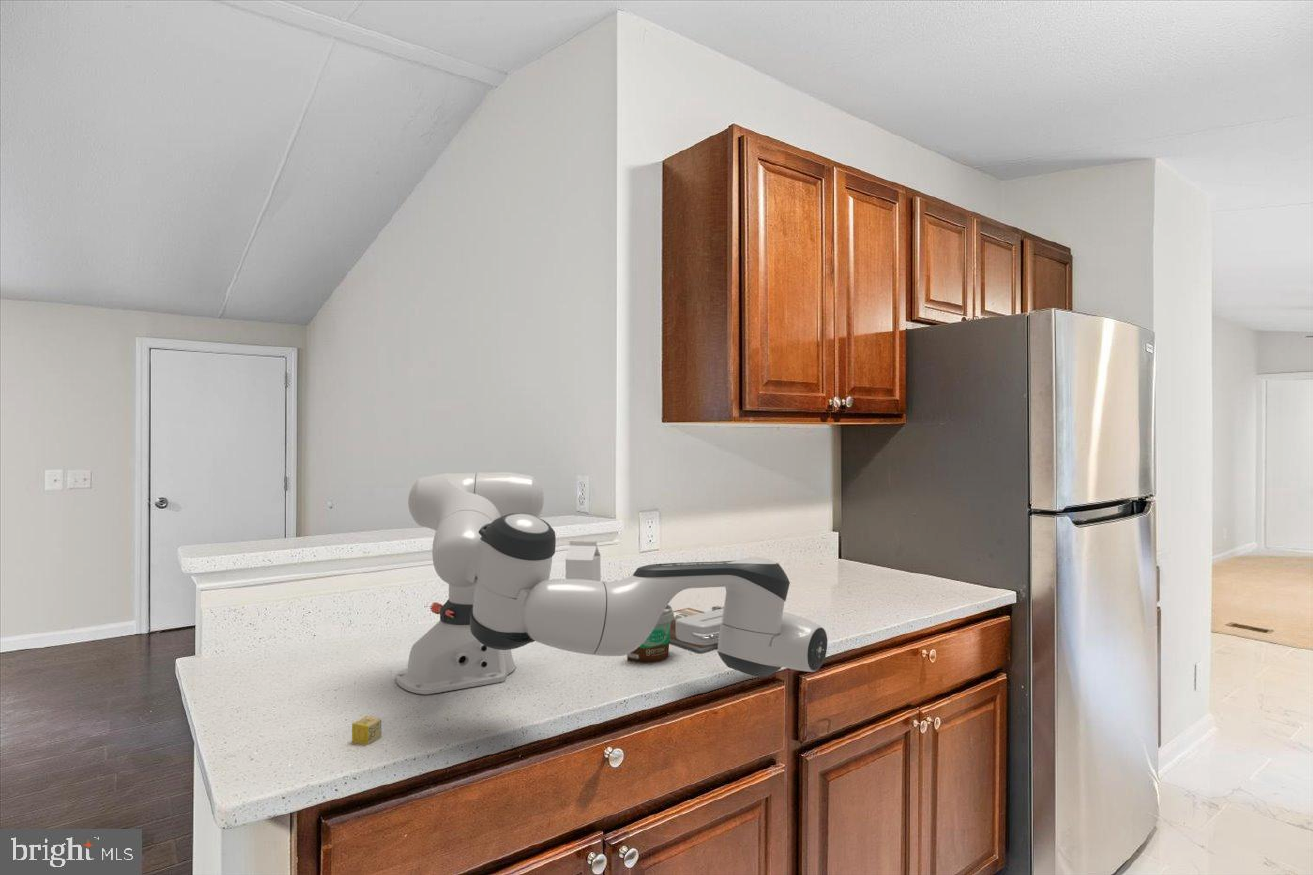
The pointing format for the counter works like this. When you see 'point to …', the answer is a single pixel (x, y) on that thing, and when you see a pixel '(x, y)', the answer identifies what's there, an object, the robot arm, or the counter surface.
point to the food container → (655, 641)
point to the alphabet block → (366, 730)
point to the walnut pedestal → (684, 644)
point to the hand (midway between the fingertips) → (696, 614)
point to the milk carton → (583, 561)
